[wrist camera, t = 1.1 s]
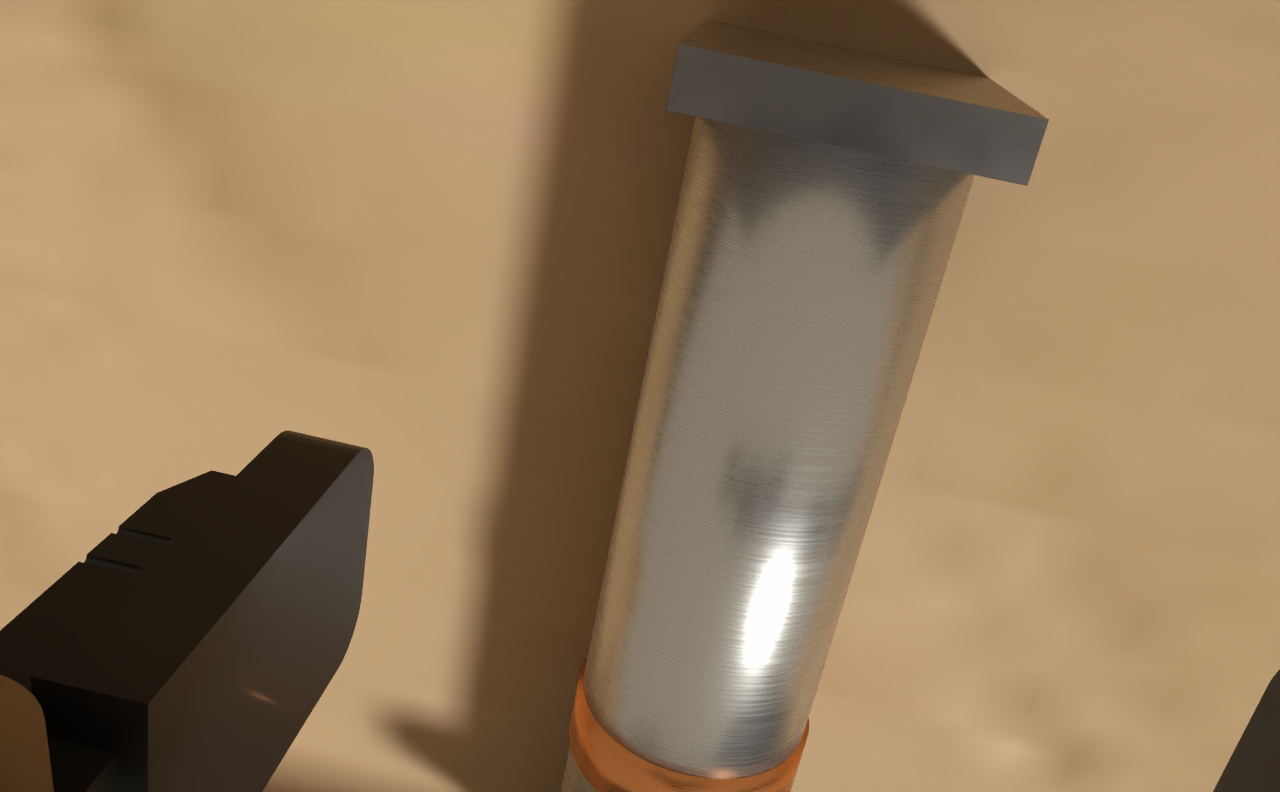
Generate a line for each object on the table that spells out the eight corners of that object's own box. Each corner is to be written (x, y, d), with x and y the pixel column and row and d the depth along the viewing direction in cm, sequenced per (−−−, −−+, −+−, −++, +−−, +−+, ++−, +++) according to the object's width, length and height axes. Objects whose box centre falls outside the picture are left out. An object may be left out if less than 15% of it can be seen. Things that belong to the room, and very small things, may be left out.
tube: (989, 77, 21) (1048, 119, 16) (743, 893, 30) (732, 1088, 25) (707, 20, 22) (678, 43, 17) (544, 844, 30) (493, 1027, 25)
